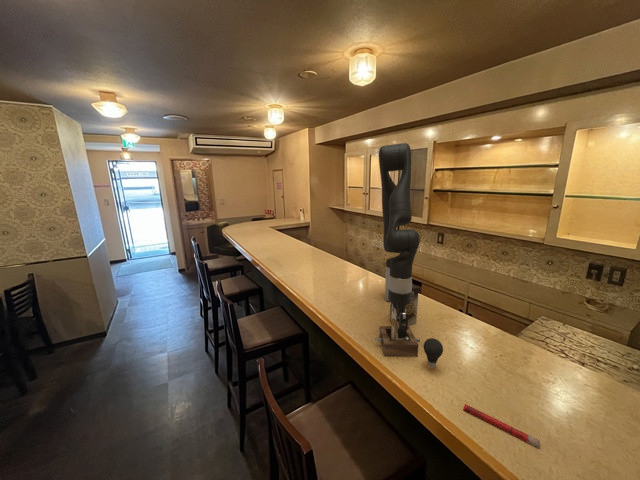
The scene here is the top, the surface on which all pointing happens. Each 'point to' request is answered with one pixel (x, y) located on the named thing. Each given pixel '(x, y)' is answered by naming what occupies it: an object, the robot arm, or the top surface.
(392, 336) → the sprinkles bottle
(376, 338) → the plunger
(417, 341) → the plunger
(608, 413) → the top surface
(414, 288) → the coffee box
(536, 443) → the flare
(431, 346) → the light bulb
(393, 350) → the brown wooden square frame
